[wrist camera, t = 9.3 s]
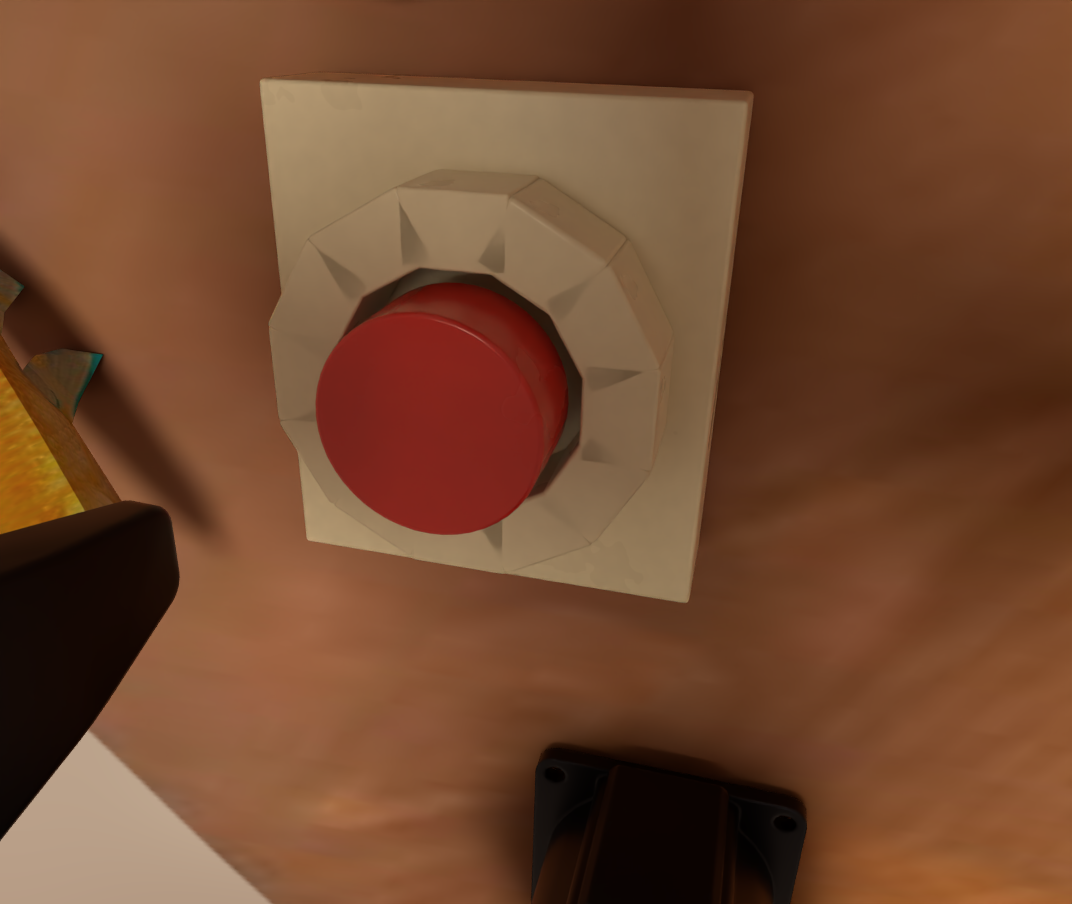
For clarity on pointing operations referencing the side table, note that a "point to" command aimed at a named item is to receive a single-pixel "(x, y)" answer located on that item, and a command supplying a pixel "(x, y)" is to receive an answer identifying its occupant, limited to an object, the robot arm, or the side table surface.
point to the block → (522, 290)
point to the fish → (44, 434)
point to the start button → (443, 408)
